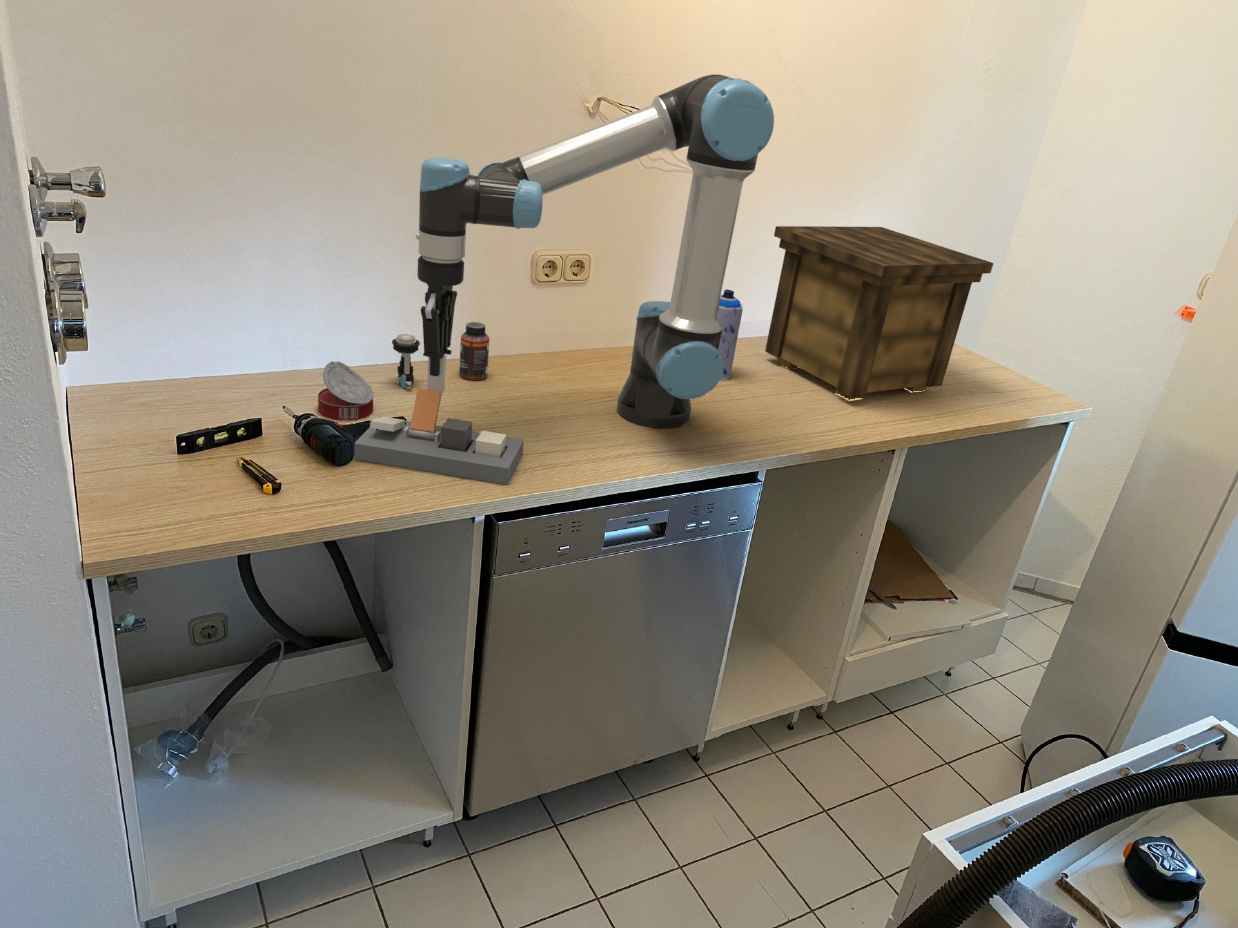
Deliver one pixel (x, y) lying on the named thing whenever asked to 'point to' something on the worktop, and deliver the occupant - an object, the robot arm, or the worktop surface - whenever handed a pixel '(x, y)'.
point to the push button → (405, 358)
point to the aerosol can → (728, 329)
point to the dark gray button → (456, 434)
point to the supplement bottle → (474, 352)
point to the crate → (868, 307)
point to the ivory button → (490, 444)
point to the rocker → (387, 424)
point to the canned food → (344, 394)
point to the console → (437, 455)
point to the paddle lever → (425, 413)
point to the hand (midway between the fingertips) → (435, 390)
